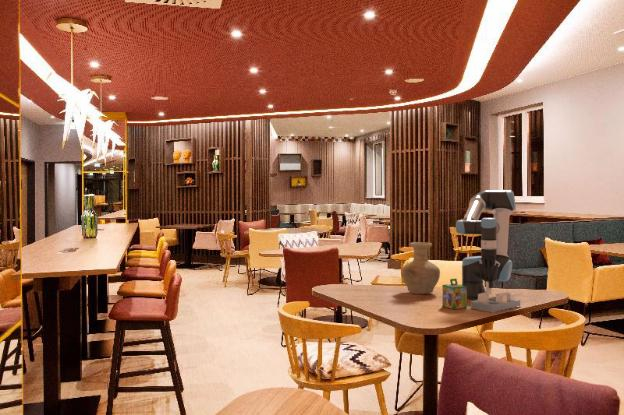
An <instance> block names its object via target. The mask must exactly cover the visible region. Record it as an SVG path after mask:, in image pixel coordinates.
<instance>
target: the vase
mask: <svg viewBox="0 0 624 415" xmlns="http://www.w3.org/2000/svg"><path fill="white" fill-rule="evenodd" d="M409 246H410V247H411V248H413V260H412V261H409V262H408V263H406V264H405V265H403V266H402V268H401V278H402V280H403V282H404V284H405V286H406V288H407V291H408V292H409V293H411V294H414V295H415V294H416V295H427V294H433V292H434V289H435V287H436V286H437V284H438V283H439V280H440V276H441V270H440V268H439V267H438V266H437V265H436V264H435V263H433V262H430V261H429V259H428V257H429V255H428V249H430V248H432V246H433V244H432V243H431V242H422V241H421V242H420V241H419V242H418V241H417V242H414V241H413V242H410V243H409Z"/></svg>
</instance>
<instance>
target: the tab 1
mask: <svg viewBox="0 0 624 415" xmlns="http://www.w3.org/2000/svg"><path fill="white" fill-rule="evenodd" d="M489 298H490V294H489V295H487V294H486V293H481V294H478V299H477V300H478V302H483V303H488V304H489Z"/></svg>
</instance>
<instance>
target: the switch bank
mask: <svg viewBox="0 0 624 415" xmlns="http://www.w3.org/2000/svg"><path fill="white" fill-rule="evenodd" d="M517 306H520V307H521V299H517V298H515V301H507V302H504V303H500V302H496V296H492V297H489V304H488V303H483V302H478V299H474V300H471V301H470V309H473V310H479V311H482V312H488V313H496V312H497V311H498V312H501V310H502V311H506V310H505V309H507V310H510V309H509V308H512V309H514V308H513V307H516V308H518V307H517ZM498 312H497V313H498Z"/></svg>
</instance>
